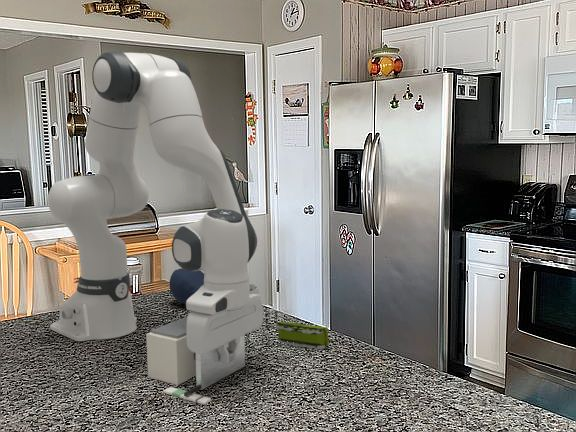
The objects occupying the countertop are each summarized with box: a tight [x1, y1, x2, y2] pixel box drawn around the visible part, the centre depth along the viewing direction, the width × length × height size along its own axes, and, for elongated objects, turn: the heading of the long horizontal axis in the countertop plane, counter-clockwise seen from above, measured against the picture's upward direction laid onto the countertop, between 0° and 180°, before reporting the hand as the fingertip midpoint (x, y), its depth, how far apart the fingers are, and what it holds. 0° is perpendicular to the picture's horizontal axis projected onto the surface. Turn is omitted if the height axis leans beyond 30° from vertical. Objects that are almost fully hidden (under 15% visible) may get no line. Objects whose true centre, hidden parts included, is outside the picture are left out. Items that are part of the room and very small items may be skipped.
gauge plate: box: [184, 334, 246, 396], centre depth 124 cm, size 11×18×8 cm, turn 148°
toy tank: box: [261, 321, 330, 350], centre depth 144 cm, size 7×19×10 cm
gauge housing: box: [145, 315, 212, 405], centre depth 123 cm, size 18×18×10 cm
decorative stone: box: [169, 268, 204, 306], centre depth 176 cm, size 12×12×10 cm
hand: (228, 361), depth 122 cm, fingers closed
